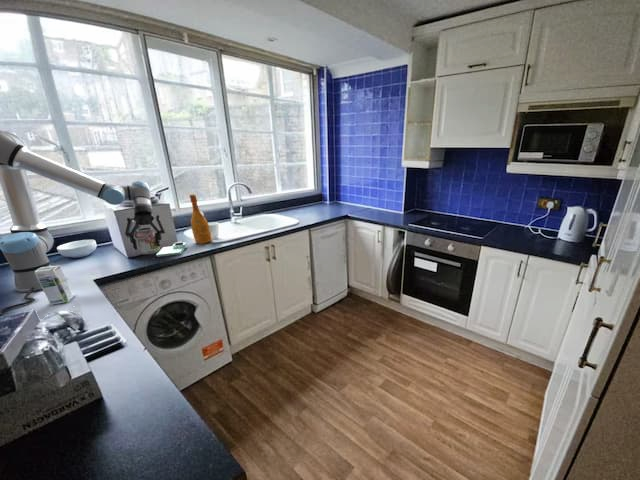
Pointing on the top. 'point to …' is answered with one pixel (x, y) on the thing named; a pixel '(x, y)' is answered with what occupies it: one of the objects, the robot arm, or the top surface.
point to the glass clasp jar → (146, 240)
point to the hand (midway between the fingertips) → (147, 246)
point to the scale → (171, 250)
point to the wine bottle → (199, 224)
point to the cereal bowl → (77, 248)
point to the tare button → (178, 243)
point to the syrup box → (54, 284)
